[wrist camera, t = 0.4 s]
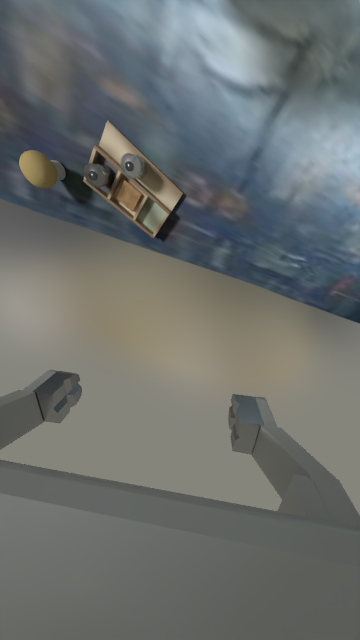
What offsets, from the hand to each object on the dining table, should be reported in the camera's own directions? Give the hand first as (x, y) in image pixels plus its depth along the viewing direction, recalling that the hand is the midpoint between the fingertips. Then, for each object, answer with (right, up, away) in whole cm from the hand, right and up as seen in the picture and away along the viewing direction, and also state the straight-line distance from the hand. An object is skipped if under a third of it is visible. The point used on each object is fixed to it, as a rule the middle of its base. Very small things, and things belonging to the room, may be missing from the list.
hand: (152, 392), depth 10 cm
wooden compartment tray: (-10, +37, +36) cm, 52 cm away
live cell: (-8, +39, +32) cm, 51 cm away
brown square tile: (-11, +34, +36) cm, 51 cm away
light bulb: (-28, +41, +36) cm, 61 cm away
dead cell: (-16, +38, +34) cm, 53 cm away
